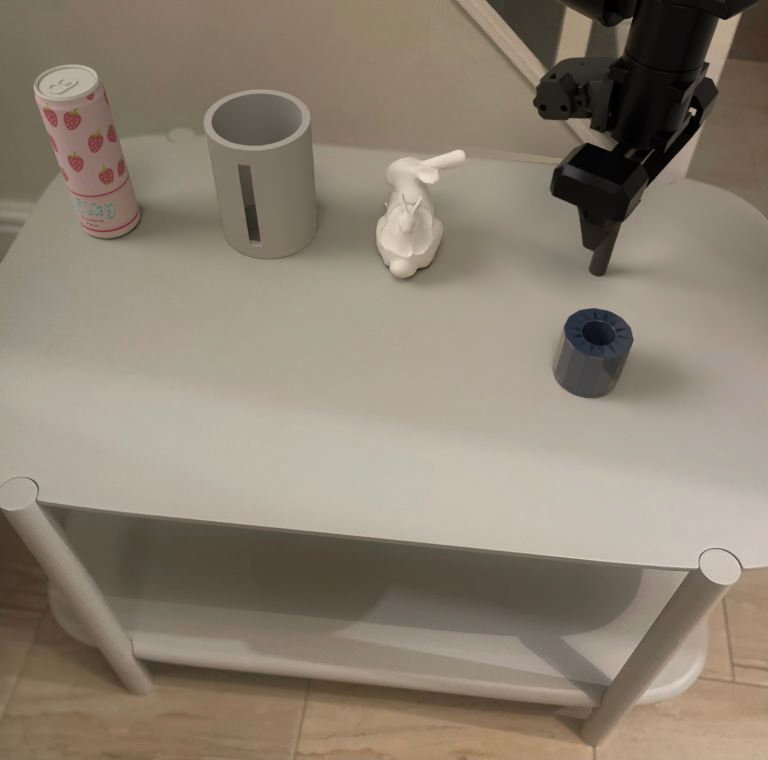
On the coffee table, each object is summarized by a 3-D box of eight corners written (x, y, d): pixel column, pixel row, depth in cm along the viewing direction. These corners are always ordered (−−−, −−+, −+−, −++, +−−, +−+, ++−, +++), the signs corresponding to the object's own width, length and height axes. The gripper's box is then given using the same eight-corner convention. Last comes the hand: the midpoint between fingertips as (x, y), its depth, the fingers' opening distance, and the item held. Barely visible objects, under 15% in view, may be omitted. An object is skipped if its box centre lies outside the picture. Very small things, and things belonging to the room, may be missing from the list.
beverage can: (72, 237, 76) (19, 96, 64) (94, 200, 80) (46, 59, 68) (130, 243, 76) (86, 102, 64) (148, 205, 79) (110, 65, 67)
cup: (306, 190, 81) (298, 83, 72) (326, 249, 76) (320, 141, 66) (217, 205, 79) (197, 97, 70) (231, 266, 74) (211, 157, 65)
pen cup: (593, 340, 69) (607, 300, 65) (631, 386, 66) (647, 346, 62) (540, 359, 67) (551, 319, 63) (576, 407, 64) (589, 368, 60)
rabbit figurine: (384, 201, 80) (386, 117, 73) (459, 207, 80) (469, 123, 72) (370, 284, 73) (370, 200, 65) (452, 292, 72) (462, 208, 65)
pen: (599, 262, 75) (623, 183, 68) (609, 273, 74) (635, 195, 67) (584, 267, 75) (607, 188, 67) (594, 278, 74) (618, 200, 66)
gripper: (618, -27, 65) (578, 137, 77) (503, 71, 55) (479, 240, 68) (750, 13, 61) (686, 179, 73) (652, 126, 52) (597, 295, 64)
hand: (612, 219), depth 70 cm, fingers open, 9 cm apart
